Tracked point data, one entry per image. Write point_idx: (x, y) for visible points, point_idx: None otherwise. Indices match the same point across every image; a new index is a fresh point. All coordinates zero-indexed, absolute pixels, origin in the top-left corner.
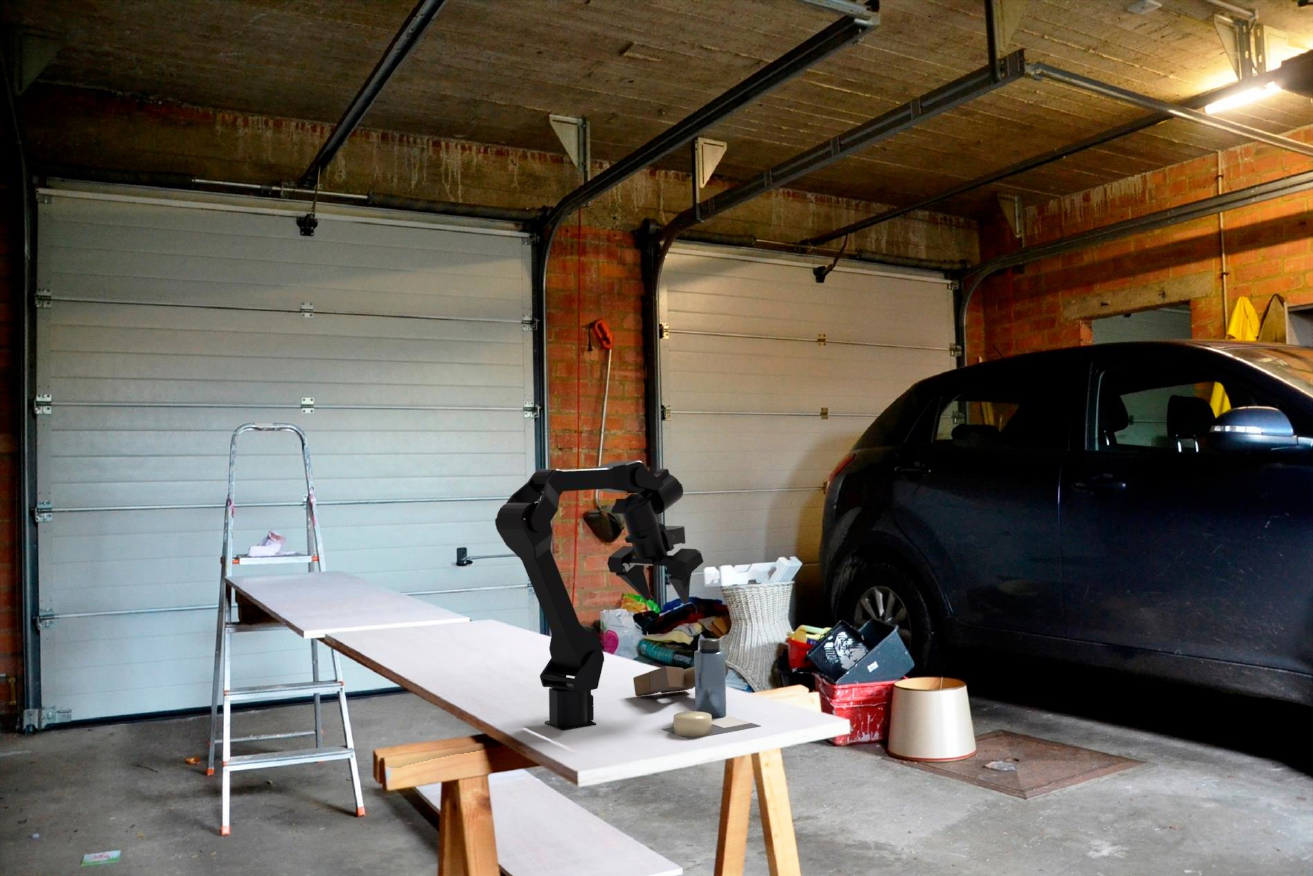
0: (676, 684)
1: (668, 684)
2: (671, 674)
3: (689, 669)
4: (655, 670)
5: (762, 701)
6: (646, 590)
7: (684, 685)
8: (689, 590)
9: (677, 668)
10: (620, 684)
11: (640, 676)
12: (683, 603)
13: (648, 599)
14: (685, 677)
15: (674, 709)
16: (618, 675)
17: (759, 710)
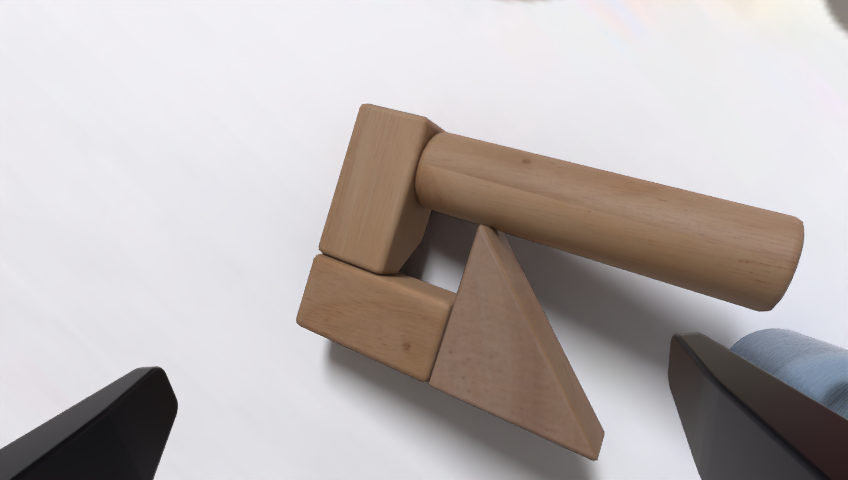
0: (554, 336)
1: (603, 434)
2: (571, 388)
3: (522, 222)
4: (493, 414)
5: (743, 59)
6: (102, 463)
7: (508, 243)
8: (823, 405)
9: (520, 299)
10: (141, 205)
11: (358, 352)
12: (673, 395)
13: (170, 398)
14: (504, 232)
15: (582, 370)
16: (19, 99)
17: (837, 181)
